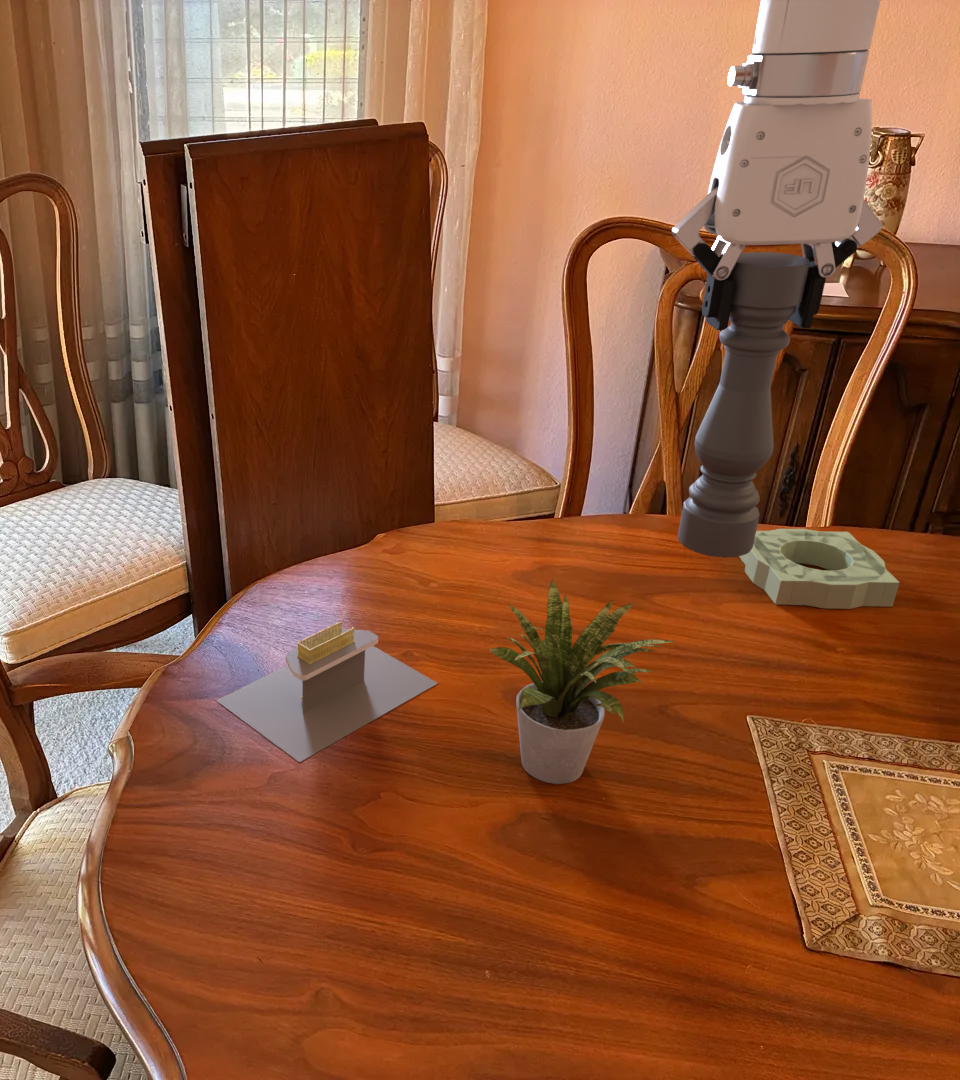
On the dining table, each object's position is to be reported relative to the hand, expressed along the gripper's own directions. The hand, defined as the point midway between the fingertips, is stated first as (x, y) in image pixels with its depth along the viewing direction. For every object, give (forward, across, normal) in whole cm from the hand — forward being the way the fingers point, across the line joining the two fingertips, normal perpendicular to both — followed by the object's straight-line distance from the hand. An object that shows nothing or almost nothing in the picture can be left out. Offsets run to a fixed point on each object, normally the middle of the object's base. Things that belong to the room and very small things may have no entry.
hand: (757, 322), depth 81 cm
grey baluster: (+20, 0, 0) cm, 20 cm away
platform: (+34, -35, -4) cm, 49 cm away
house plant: (+35, -16, -15) cm, 41 cm away
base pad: (+35, +19, +20) cm, 45 cm away
